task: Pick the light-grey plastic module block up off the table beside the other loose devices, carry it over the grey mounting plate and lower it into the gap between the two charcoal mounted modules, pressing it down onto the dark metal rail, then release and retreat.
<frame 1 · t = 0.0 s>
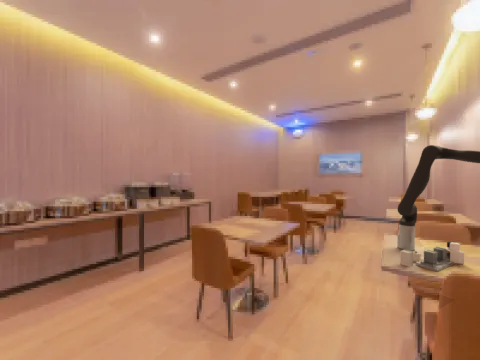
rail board: (435, 264, 133), on the table
module: (406, 264, 133), on the table
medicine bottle: (453, 261, 138), on the table
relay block: (415, 260, 139), on the table
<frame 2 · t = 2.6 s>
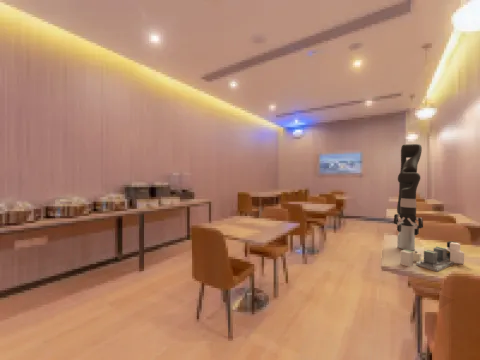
hand: (407, 233, 132), 19 cm above the table, fingers open, 8 cm apart
nothing on the table moved.
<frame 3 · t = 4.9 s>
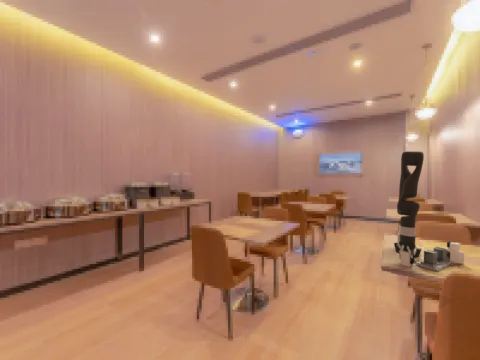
hand: (406, 262, 133), 1 cm above the table, fingers closed on module, 4 cm apart
module: (406, 264, 133), on the table, touching gripper
everything else where it was.
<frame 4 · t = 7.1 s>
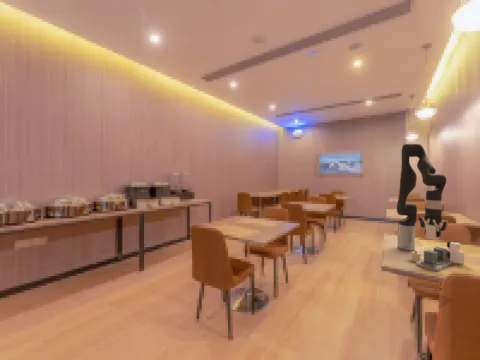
hand: (432, 236, 133), 17 cm above the table, fingers closed on module, 4 cm apart
module: (432, 238, 133), point 16 cm above the table, touching gripper
everything else where it was.
when the fingers open (4 cm above the table, at t = 9.6 s): module stays where it is, resting on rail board.
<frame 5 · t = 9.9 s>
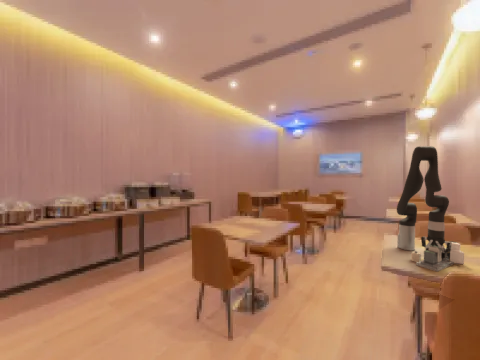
hand: (435, 256, 133), 5 cm above the table, fingers open, 6 cm apart
module: (434, 260, 133), point 3 cm above the table, touching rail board
everything else where it was.
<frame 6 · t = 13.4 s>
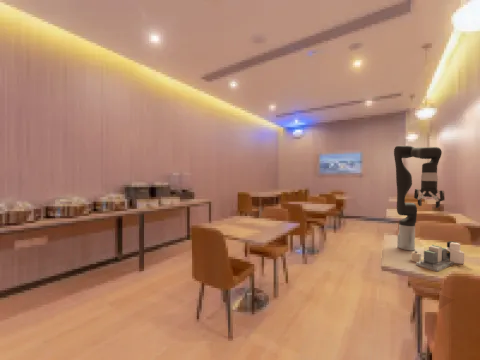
hand: (428, 206, 136), 34 cm above the table, fingers open, 8 cm apart
nothing on the table moved.
at the end: module 0.1 cm off-centre on the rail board, point 2.7 cm above the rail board's base; module tilted 0°; the gripper is holding nothing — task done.
